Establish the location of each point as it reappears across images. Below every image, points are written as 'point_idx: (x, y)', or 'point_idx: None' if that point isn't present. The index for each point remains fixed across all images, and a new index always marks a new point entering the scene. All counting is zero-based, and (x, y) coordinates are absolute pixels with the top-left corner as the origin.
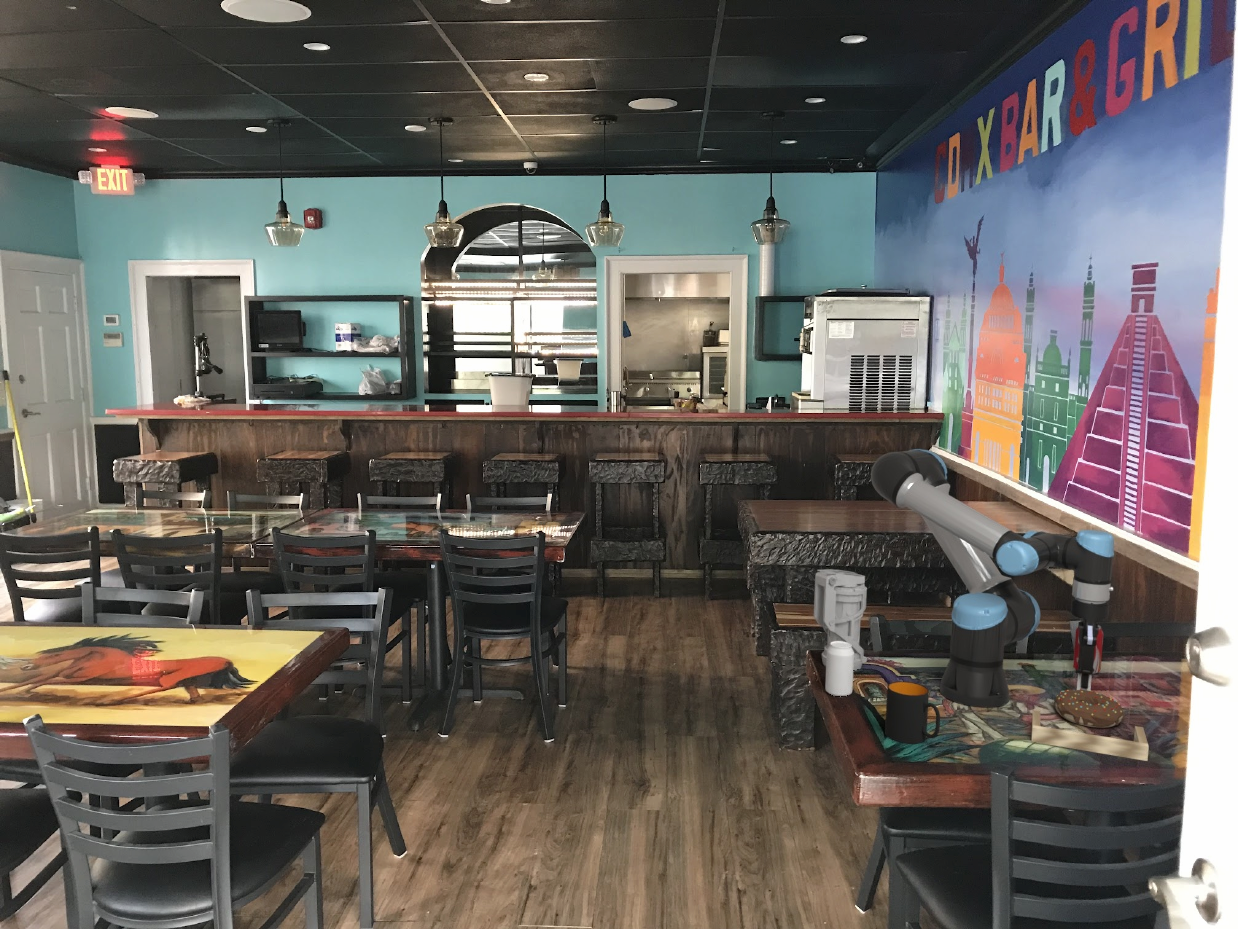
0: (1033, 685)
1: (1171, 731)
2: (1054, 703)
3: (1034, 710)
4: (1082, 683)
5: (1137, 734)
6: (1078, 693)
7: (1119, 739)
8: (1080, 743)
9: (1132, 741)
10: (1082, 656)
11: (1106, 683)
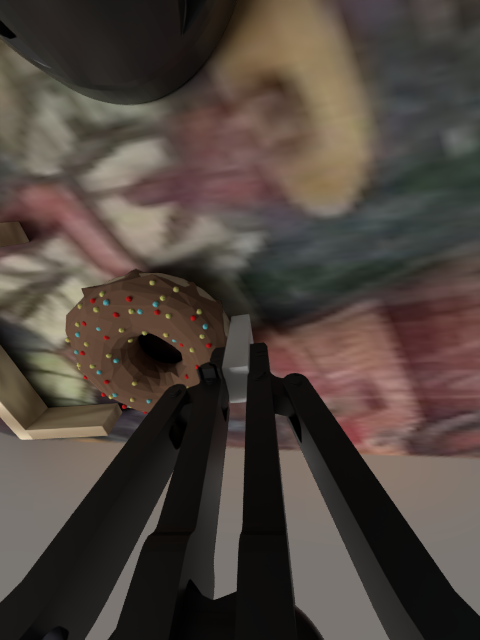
0: (376, 167)
1: None
2: (129, 273)
3: None
4: (210, 360)
5: (60, 428)
6: (177, 340)
7: (3, 407)
8: None
9: (16, 423)
10: (106, 471)
11: (459, 357)
